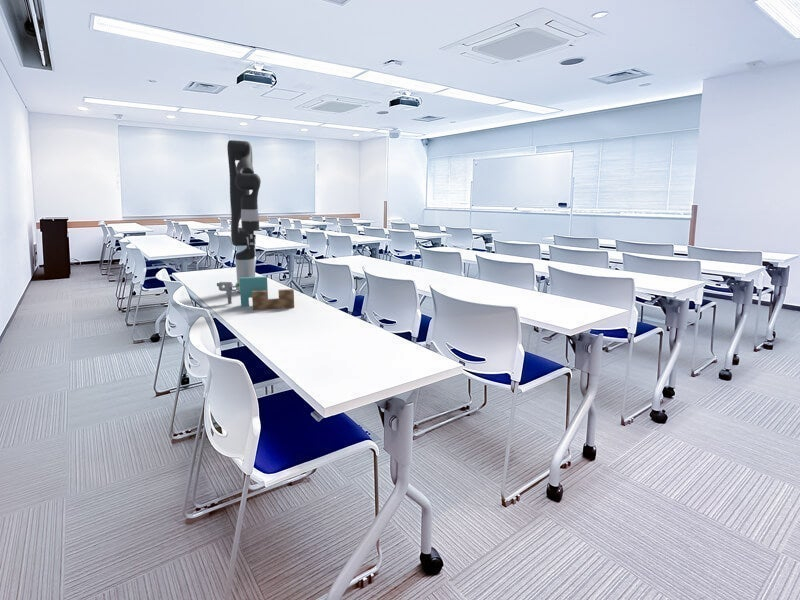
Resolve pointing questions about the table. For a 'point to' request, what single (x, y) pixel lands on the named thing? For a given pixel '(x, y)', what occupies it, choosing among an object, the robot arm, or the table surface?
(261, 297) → the walnut slotted plate
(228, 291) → the mechanical component
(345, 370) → the table surface
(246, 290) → the teal notched block
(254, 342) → the table surface
